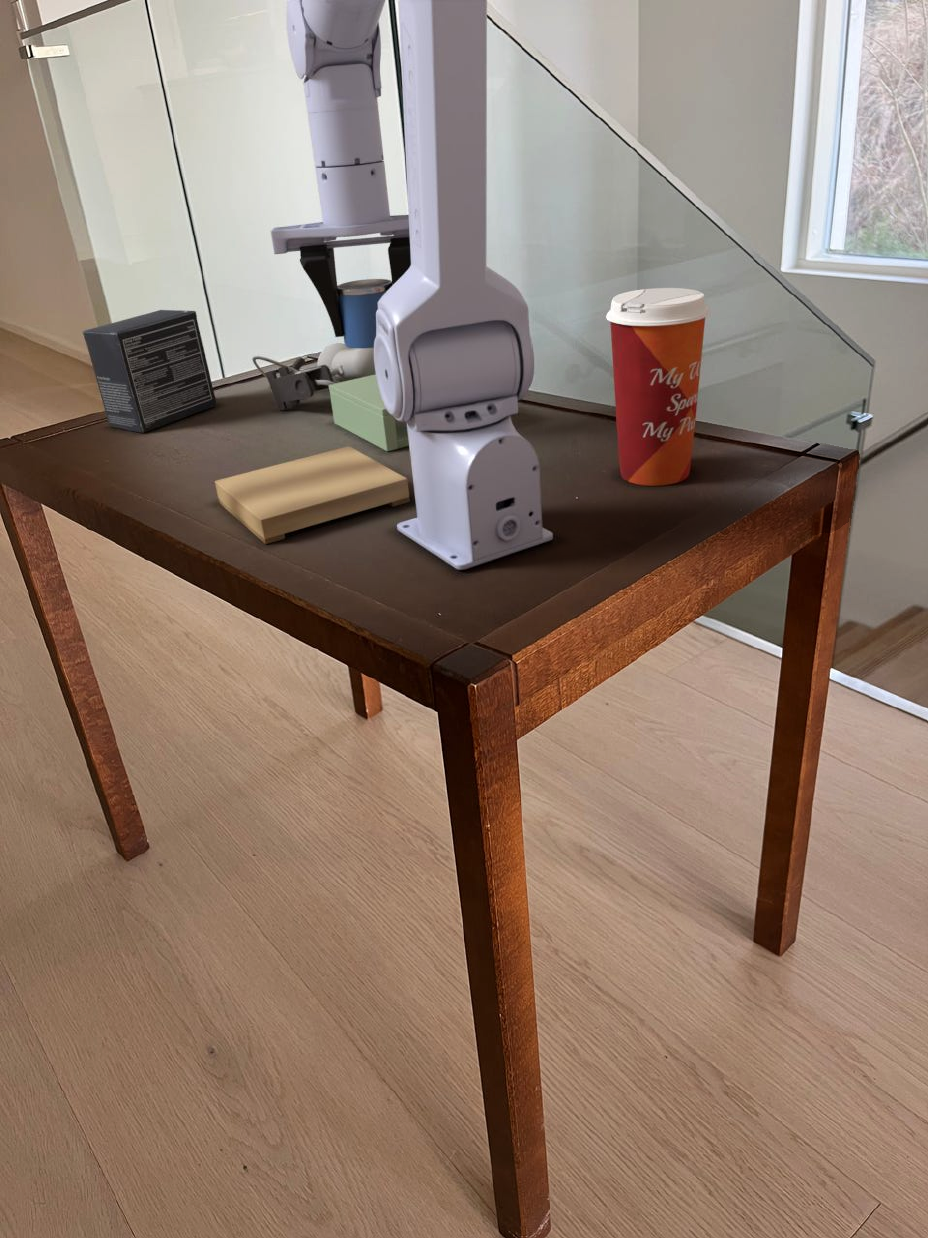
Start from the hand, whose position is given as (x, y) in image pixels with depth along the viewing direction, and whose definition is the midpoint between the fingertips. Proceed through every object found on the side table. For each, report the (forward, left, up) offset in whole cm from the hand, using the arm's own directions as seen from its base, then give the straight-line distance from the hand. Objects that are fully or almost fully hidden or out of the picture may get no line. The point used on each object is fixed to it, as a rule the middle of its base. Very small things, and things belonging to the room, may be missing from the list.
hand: (370, 331), depth 85 cm
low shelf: (-9, +11, -11) cm, 18 cm away
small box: (+27, +14, -11) cm, 32 cm away
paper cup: (-23, -13, -11) cm, 29 cm away
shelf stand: (+4, -5, -11) cm, 12 cm away
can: (0, 0, -1) cm, 1 cm away
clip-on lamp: (+22, -2, -11) cm, 24 cm away
